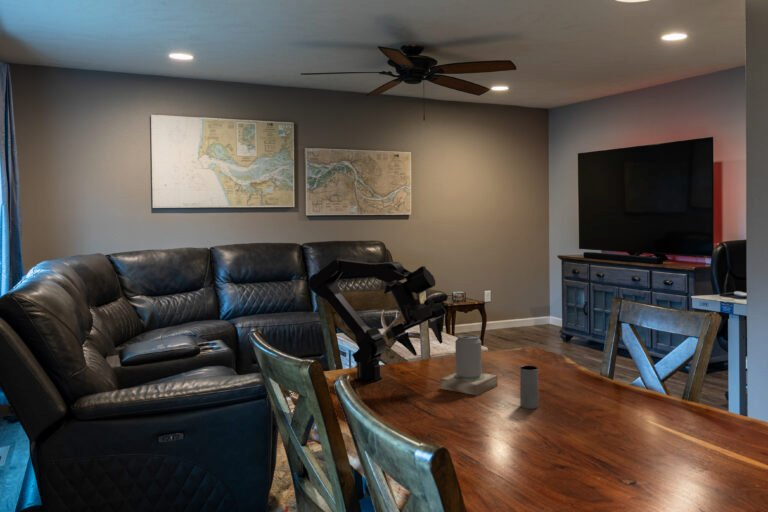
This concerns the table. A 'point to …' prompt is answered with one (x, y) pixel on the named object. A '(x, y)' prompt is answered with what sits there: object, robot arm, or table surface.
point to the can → (468, 356)
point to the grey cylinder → (529, 387)
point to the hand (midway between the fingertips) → (428, 349)
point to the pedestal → (469, 383)
